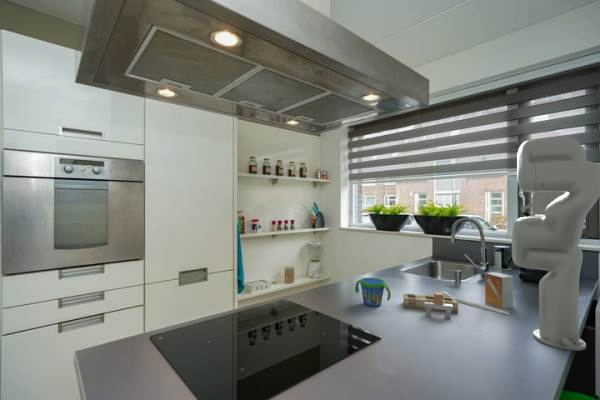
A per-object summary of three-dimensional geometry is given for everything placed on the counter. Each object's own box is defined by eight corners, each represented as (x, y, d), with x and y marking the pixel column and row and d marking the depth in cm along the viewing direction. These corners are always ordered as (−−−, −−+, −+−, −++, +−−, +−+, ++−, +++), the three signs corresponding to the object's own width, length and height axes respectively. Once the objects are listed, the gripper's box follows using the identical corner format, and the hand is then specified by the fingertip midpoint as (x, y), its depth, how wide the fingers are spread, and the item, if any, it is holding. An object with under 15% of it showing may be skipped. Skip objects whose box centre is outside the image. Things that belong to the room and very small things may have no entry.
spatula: (512, 314, 117) (512, 307, 117) (508, 317, 114) (508, 309, 114) (443, 296, 140) (443, 290, 140) (439, 297, 137) (439, 291, 137)
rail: (457, 312, 117) (457, 302, 117) (404, 307, 123) (404, 298, 123) (454, 307, 124) (454, 297, 124) (403, 302, 130) (403, 293, 130)
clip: (453, 318, 111) (453, 295, 111) (424, 315, 114) (424, 293, 114) (451, 315, 114) (451, 293, 114) (423, 313, 117) (423, 291, 117)
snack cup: (395, 306, 125) (395, 281, 125) (381, 312, 118) (381, 286, 118) (364, 297, 136) (364, 275, 137) (350, 302, 129) (350, 279, 129)
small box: (484, 302, 130) (484, 272, 130) (495, 301, 132) (495, 271, 132) (502, 308, 122) (502, 277, 122) (513, 307, 124) (513, 276, 124)
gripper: (520, 185, 117) (520, 228, 116) (580, 183, 106) (580, 231, 106) (520, 186, 123) (520, 227, 122) (577, 185, 112) (577, 230, 112)
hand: (548, 229), depth 114 cm, fingers open, 9 cm apart
